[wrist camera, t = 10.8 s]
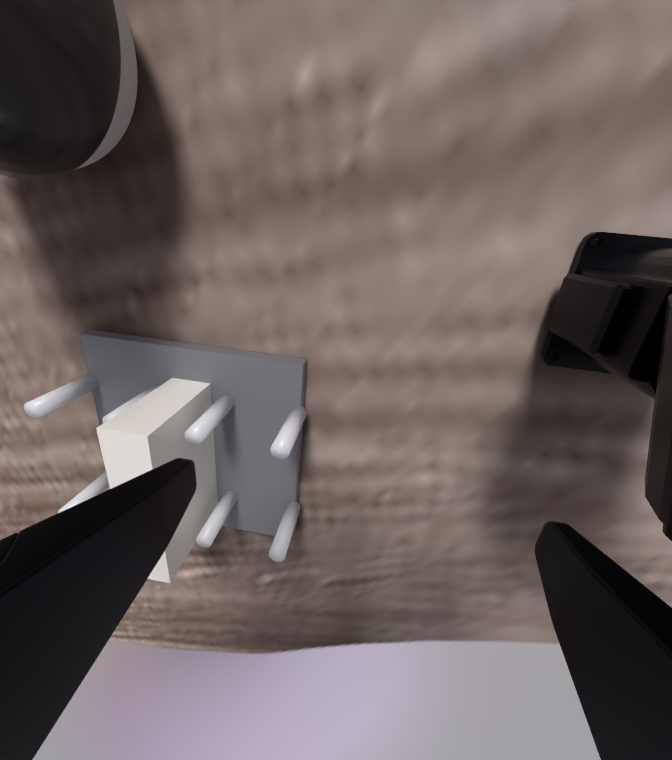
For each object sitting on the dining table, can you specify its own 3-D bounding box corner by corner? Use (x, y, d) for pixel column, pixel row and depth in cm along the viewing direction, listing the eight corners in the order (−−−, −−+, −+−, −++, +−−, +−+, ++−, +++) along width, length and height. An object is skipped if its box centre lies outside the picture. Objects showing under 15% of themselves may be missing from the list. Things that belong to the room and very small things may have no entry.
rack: (313, 359, 20) (292, 396, 16) (301, 529, 26) (283, 592, 21) (86, 328, 22) (6, 354, 17) (122, 497, 27) (69, 549, 23)
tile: (210, 383, 21) (147, 436, 15) (218, 506, 25) (170, 583, 19) (172, 377, 21) (96, 428, 15) (185, 500, 25) (129, 574, 19)
